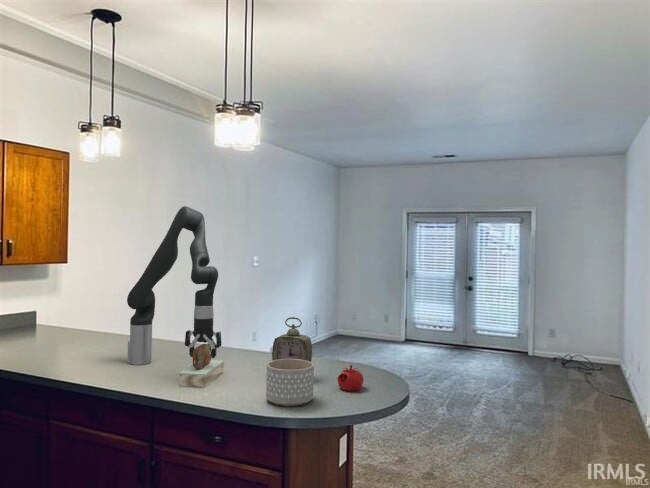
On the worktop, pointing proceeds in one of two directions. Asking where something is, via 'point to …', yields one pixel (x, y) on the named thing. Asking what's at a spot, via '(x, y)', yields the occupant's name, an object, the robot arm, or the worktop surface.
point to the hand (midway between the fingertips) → (202, 357)
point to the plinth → (201, 374)
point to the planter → (289, 381)
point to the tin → (201, 356)
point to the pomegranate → (350, 379)
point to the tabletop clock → (292, 345)
